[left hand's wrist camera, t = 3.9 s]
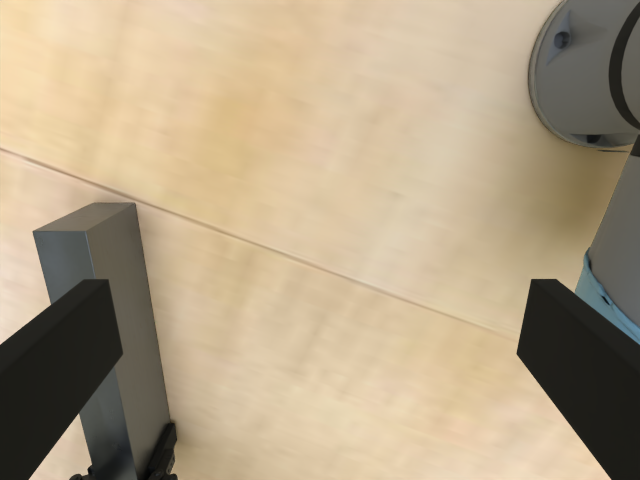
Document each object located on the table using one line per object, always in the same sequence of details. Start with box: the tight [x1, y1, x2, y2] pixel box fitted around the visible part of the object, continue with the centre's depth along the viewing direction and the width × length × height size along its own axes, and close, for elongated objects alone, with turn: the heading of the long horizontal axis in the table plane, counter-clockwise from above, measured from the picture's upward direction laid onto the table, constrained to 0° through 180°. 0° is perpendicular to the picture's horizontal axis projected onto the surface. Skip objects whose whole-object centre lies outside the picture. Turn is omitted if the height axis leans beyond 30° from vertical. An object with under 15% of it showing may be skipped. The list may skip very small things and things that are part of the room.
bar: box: [33, 203, 174, 480], centre depth 44 cm, size 34×4×10 cm, turn 0°
